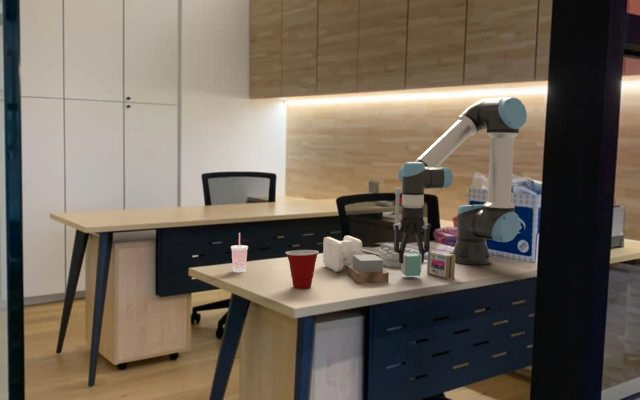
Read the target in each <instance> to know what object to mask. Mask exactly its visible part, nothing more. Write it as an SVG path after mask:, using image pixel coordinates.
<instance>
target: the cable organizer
mask: <svg viewBox="0 0 640 400" xmlns="http://www.w3.org/2000/svg"><path fill="white" fill-rule="evenodd" d="M322 246H323V248H322V249H323V251H322V252H323V253H322V255H323V256H322V257H323V259H322V261H323V262H322V263H323V265H324V266H326V268H327V269H330V270H332V271H333V272H335V273H339V272H342V271H343V269H344V268H345V266H347V267H348V266H353V255H363V242H362V240H361V239H359V238H357V237H354V236H351V235H344V237H343V239H342V240H338V239H335V238H333V237H331V236H326V237H325V236H324V237H323V245H322Z"/></svg>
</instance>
